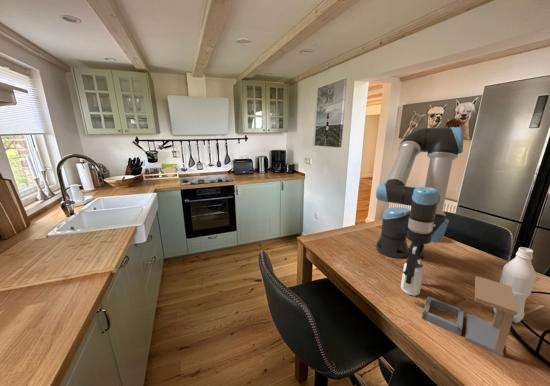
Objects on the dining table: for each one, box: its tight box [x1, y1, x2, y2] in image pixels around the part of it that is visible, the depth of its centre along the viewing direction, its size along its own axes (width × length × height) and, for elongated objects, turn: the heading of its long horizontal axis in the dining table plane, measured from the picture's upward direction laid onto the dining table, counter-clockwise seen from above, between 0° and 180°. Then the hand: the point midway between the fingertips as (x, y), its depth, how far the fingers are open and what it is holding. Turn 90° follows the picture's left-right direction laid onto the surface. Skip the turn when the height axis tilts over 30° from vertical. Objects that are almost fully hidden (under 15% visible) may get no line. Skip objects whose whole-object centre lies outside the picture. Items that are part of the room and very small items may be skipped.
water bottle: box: [492, 246, 537, 324], centre depth 71 cm, size 7×7×25 cm
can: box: [400, 259, 424, 297], centre depth 85 cm, size 6×6×12 cm
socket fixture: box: [421, 275, 517, 358], centre depth 69 cm, size 19×13×15 cm
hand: (411, 280), depth 86 cm, fingers open, 13 cm apart
